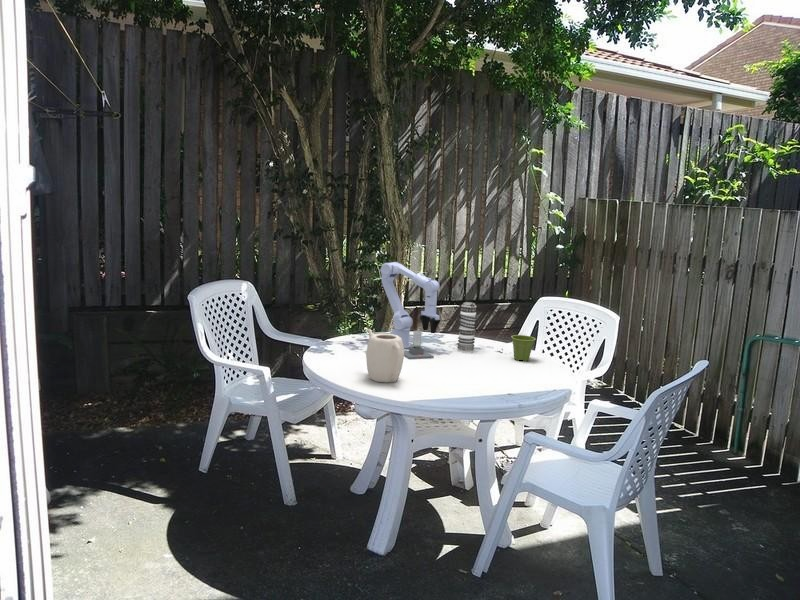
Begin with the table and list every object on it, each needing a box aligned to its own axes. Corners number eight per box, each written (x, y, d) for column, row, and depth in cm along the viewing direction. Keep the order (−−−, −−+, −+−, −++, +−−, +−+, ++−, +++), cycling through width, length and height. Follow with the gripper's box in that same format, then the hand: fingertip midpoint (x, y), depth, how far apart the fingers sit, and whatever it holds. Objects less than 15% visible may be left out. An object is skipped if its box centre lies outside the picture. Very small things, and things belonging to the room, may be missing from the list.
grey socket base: (398, 352, 346) (399, 343, 346) (422, 351, 351) (423, 343, 351) (408, 359, 335) (409, 349, 334) (433, 358, 339) (434, 348, 339)
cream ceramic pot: (381, 369, 313) (383, 328, 310) (414, 385, 291) (417, 340, 288) (350, 372, 304) (352, 330, 301) (382, 389, 282) (385, 343, 279)
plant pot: (507, 360, 343) (509, 338, 341) (511, 355, 354) (513, 333, 352) (531, 363, 339) (533, 341, 337) (535, 358, 350) (537, 336, 348)
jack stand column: (412, 345, 343) (413, 330, 342) (418, 345, 344) (419, 330, 343) (415, 346, 340) (415, 332, 339) (420, 346, 341) (421, 331, 340)
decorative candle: (453, 349, 361) (456, 301, 357) (469, 348, 365) (472, 301, 361) (461, 353, 353) (465, 304, 349) (477, 352, 356) (481, 304, 352)
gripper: (416, 302, 353) (415, 329, 355) (431, 307, 340) (429, 334, 342) (428, 302, 356) (427, 328, 358) (443, 306, 344) (441, 334, 346)
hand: (429, 331), depth 351 cm, fingers open, 7 cm apart
